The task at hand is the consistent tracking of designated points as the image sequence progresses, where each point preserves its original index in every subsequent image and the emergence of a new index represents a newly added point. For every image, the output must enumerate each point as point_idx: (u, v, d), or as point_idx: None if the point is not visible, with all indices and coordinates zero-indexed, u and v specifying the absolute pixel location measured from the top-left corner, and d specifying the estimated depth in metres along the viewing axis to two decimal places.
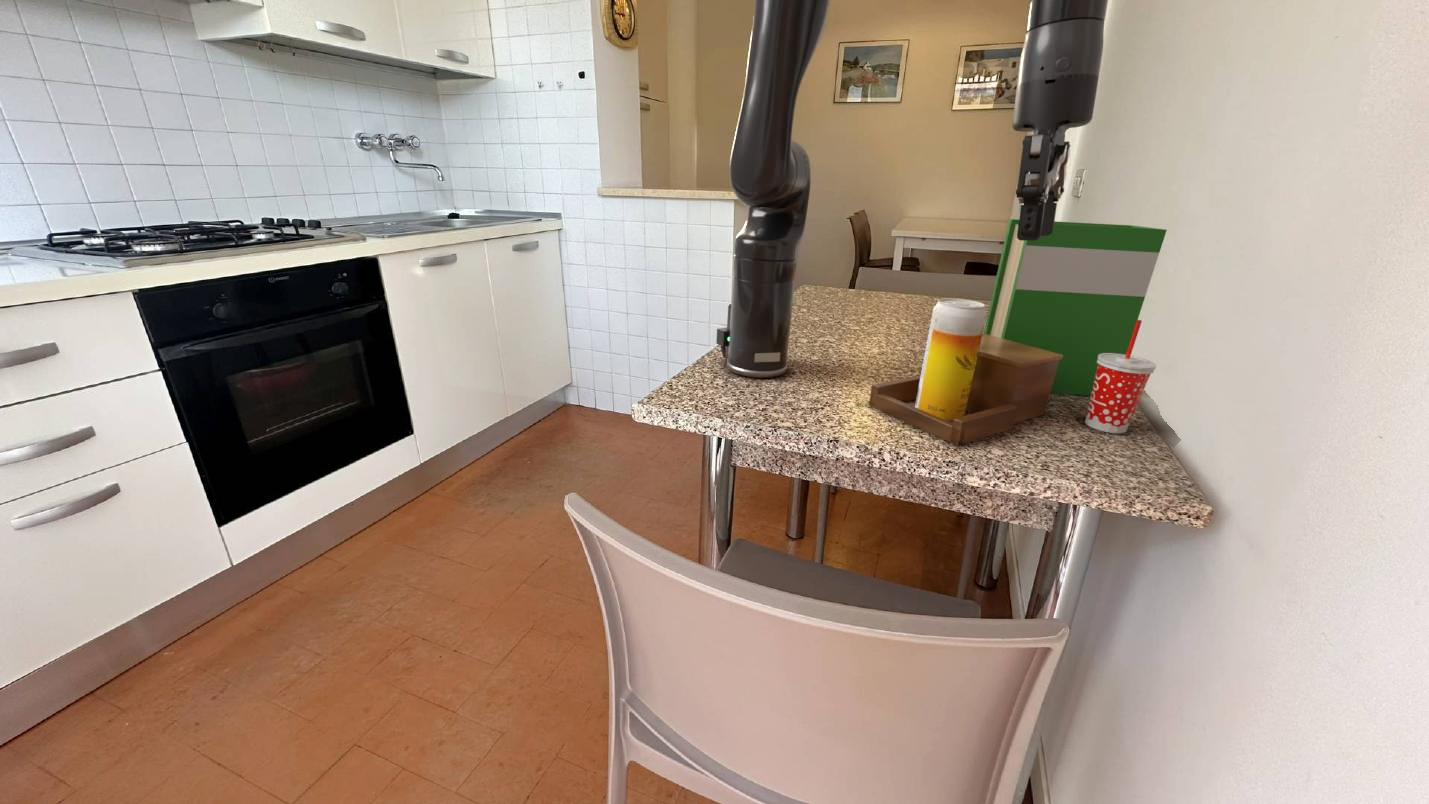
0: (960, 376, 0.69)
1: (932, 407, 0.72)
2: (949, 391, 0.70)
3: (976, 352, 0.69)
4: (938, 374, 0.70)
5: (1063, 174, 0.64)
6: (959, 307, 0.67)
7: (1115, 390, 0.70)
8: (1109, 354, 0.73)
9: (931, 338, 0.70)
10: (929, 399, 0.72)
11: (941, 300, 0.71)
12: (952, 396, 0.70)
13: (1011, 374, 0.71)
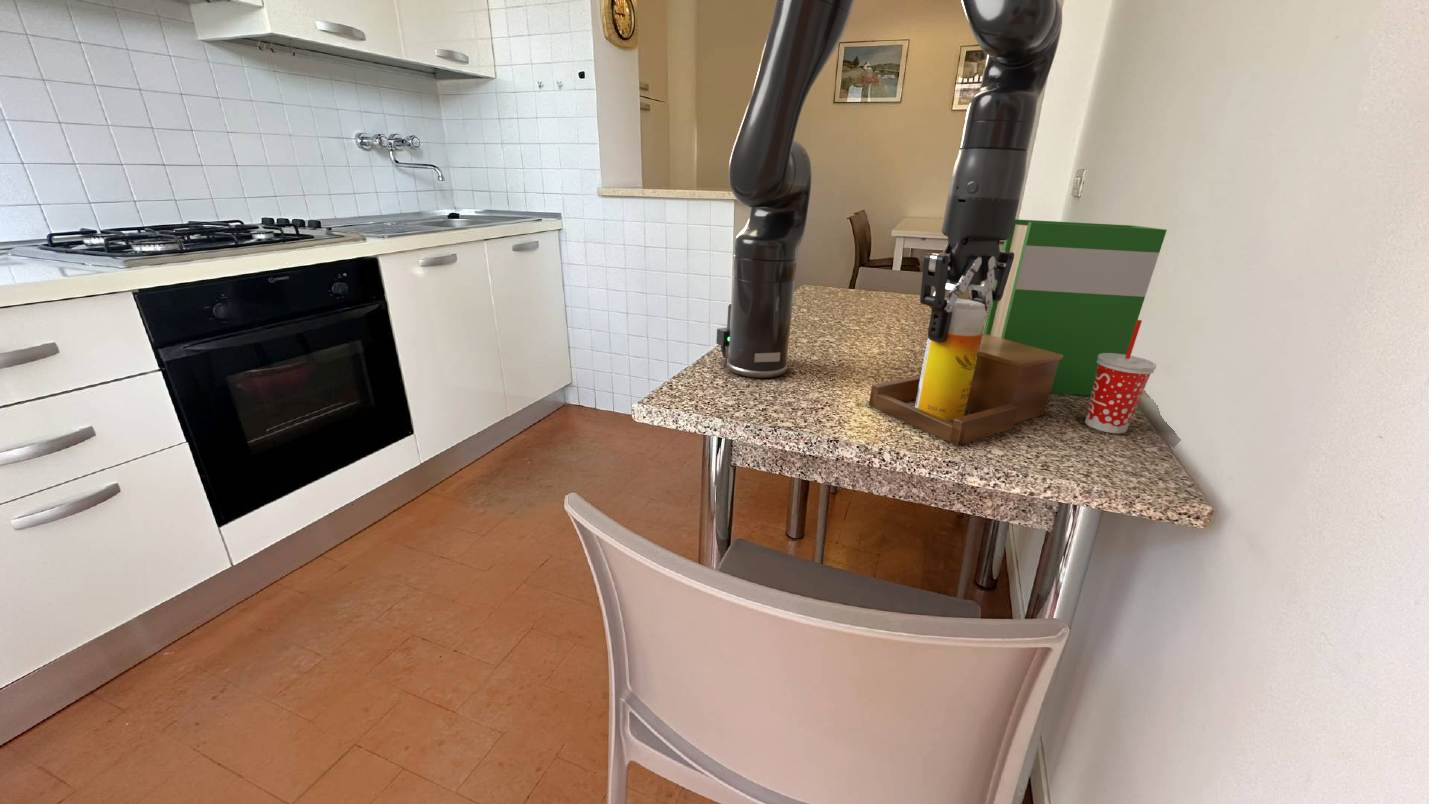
0: (960, 376, 0.69)
1: (932, 407, 0.72)
2: (949, 391, 0.70)
3: (976, 352, 0.69)
4: (938, 374, 0.70)
5: (987, 281, 0.68)
6: (959, 307, 0.67)
7: (1115, 390, 0.70)
8: (1109, 354, 0.73)
9: None
10: (929, 399, 0.72)
11: None
12: (952, 396, 0.70)
13: (1011, 374, 0.71)
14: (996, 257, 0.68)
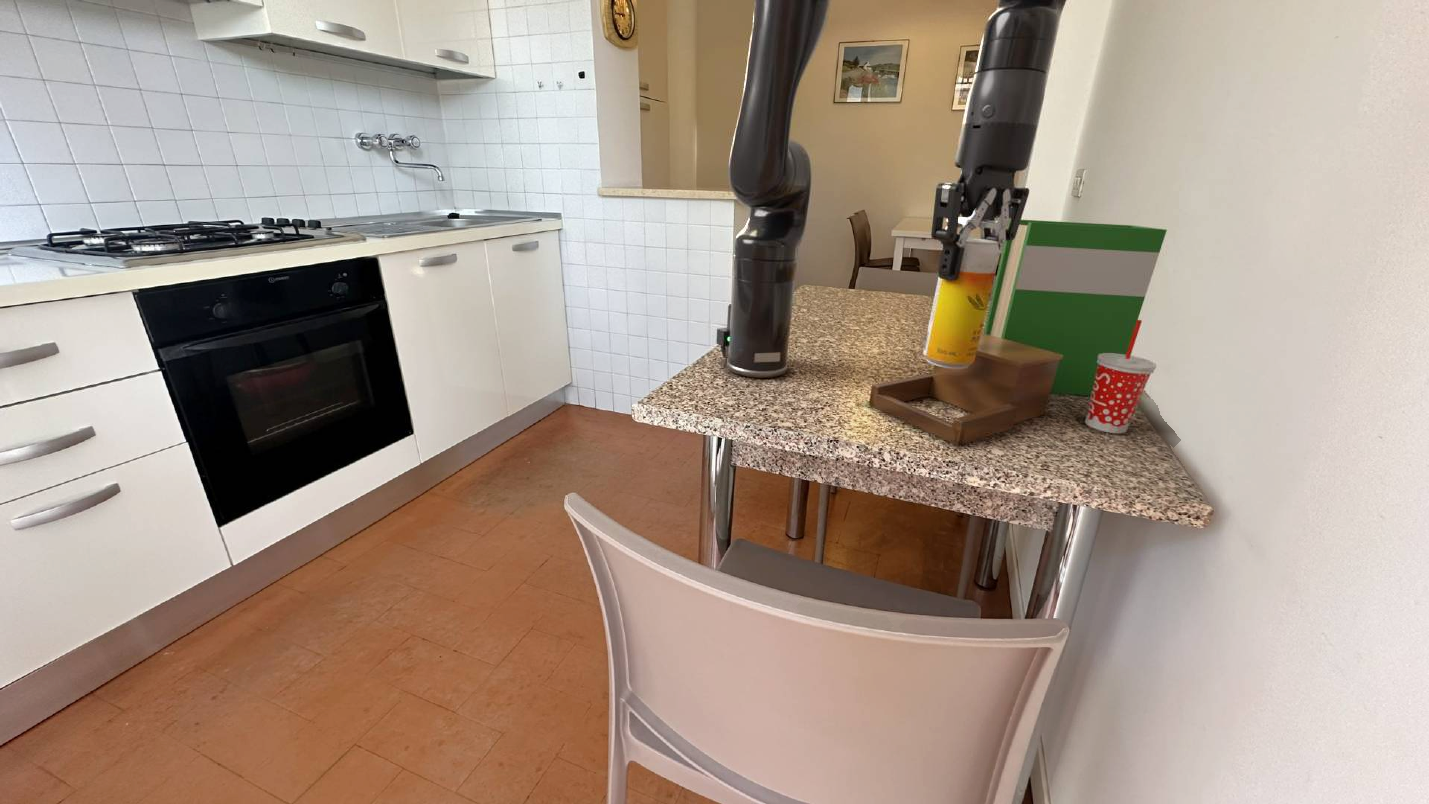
0: (971, 317, 0.67)
1: (941, 351, 0.69)
2: (960, 332, 0.68)
3: (988, 292, 0.67)
4: (949, 315, 0.67)
5: (1001, 217, 0.65)
6: (972, 243, 0.64)
7: (1115, 390, 0.70)
8: (1109, 354, 0.73)
9: None
10: (938, 342, 0.69)
11: None
12: (962, 339, 0.68)
13: (1011, 374, 0.71)
14: (1011, 192, 0.65)
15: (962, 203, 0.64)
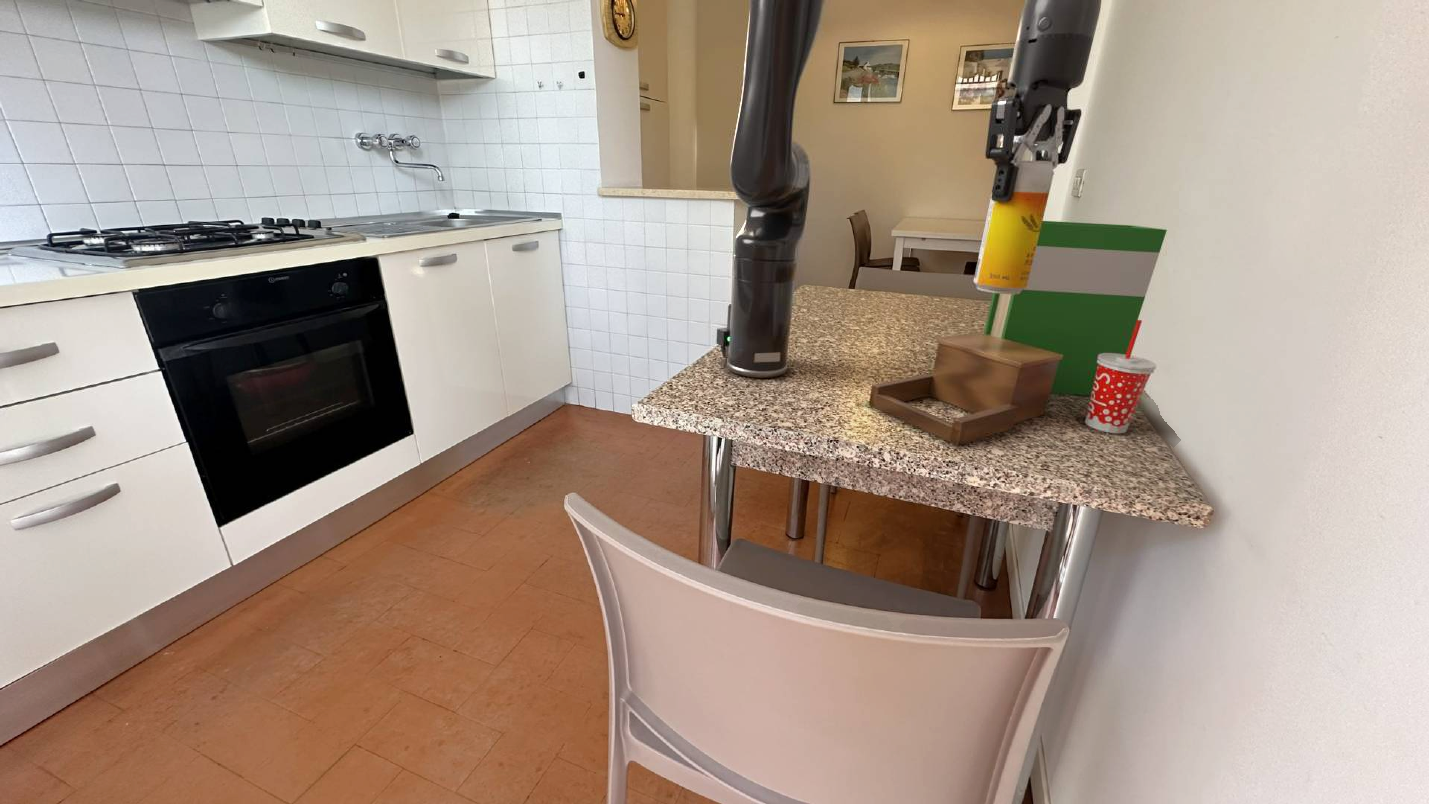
0: (1025, 239, 0.67)
1: (994, 275, 0.69)
2: (1013, 255, 0.67)
3: (1042, 213, 0.66)
4: (1002, 238, 0.67)
5: (1055, 136, 0.65)
6: (1026, 161, 0.64)
7: (1115, 390, 0.70)
8: (1109, 354, 0.73)
9: None
10: (991, 267, 0.69)
11: None
12: (1016, 262, 0.68)
13: (1011, 374, 0.71)
14: (1064, 111, 0.65)
15: (1016, 122, 0.64)
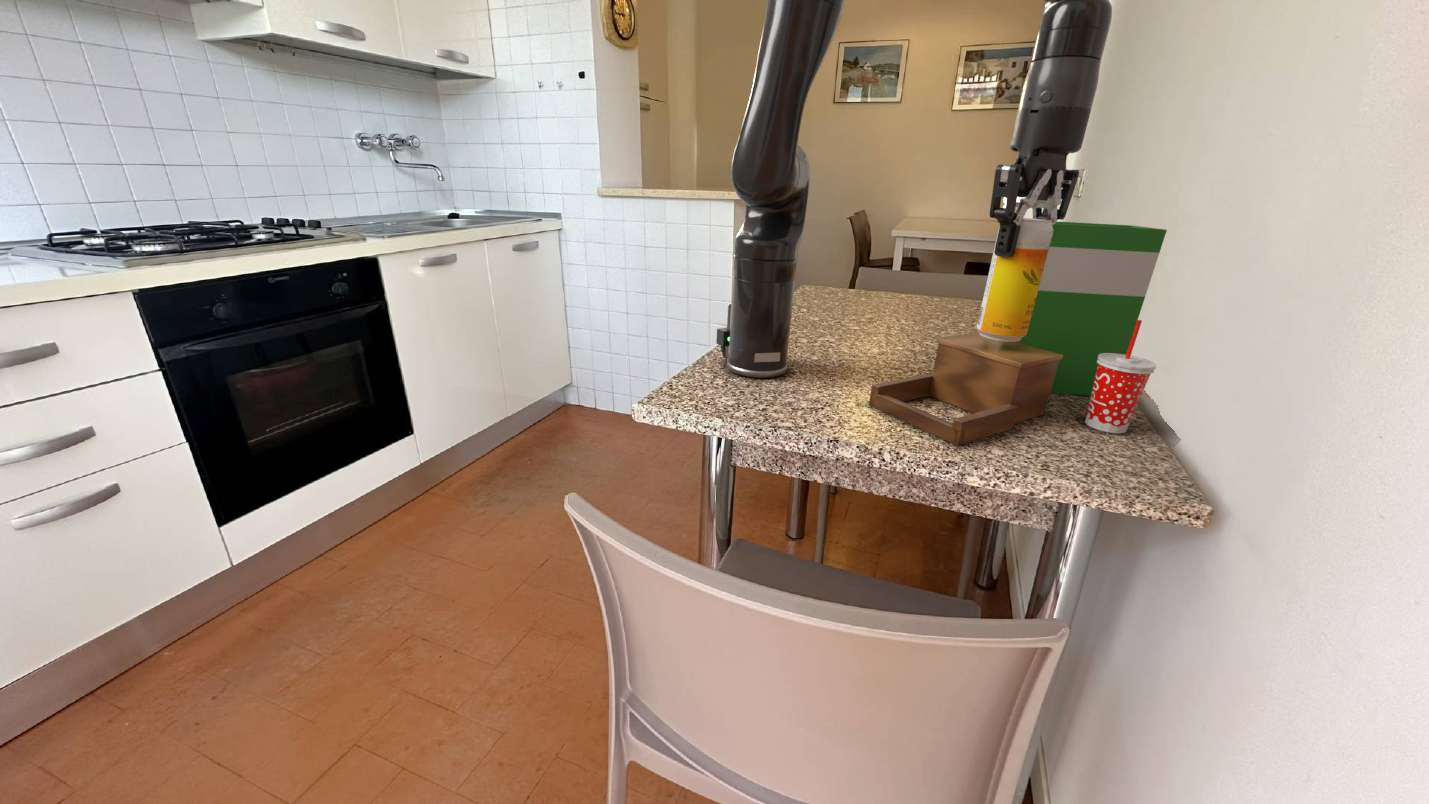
0: (1026, 291, 0.71)
1: (996, 324, 0.73)
2: (1015, 306, 0.72)
3: (1042, 267, 0.71)
4: (1004, 290, 0.72)
5: (1054, 196, 0.69)
6: (1028, 221, 0.68)
7: (1115, 390, 0.70)
8: (1109, 354, 0.73)
9: None
10: (993, 316, 0.73)
11: None
12: (1017, 312, 0.72)
13: (1011, 374, 0.71)
14: (1063, 173, 0.69)
15: (1018, 184, 0.68)
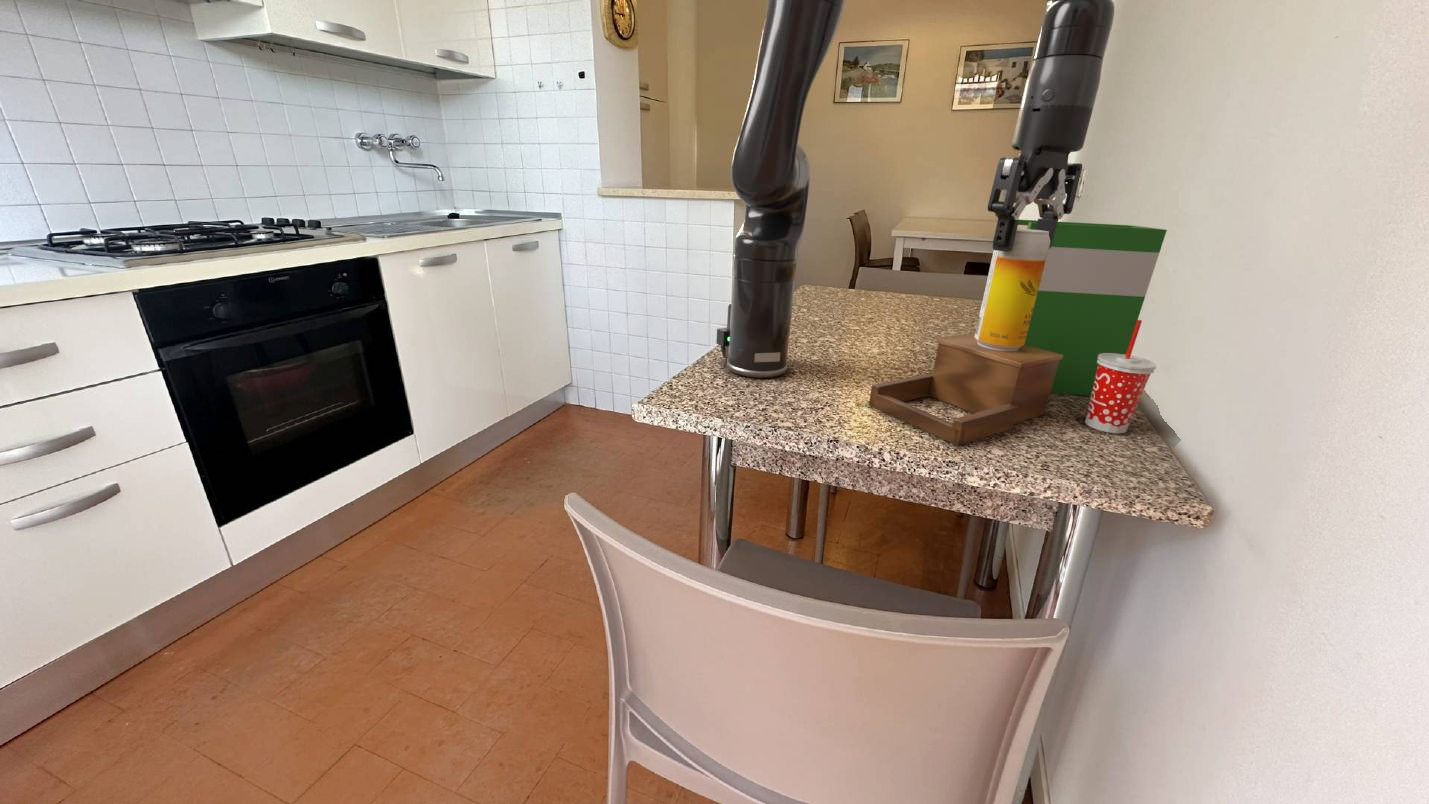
0: (1023, 302, 0.71)
1: (994, 334, 0.74)
2: (1012, 317, 0.72)
3: (1039, 278, 0.71)
4: (1002, 301, 0.72)
5: (1058, 194, 0.69)
6: (1025, 232, 0.69)
7: (1115, 390, 0.70)
8: (1109, 354, 0.73)
9: (995, 265, 0.72)
10: (991, 327, 0.74)
11: None
12: (1014, 322, 0.72)
13: (1011, 374, 0.71)
14: (1064, 172, 0.69)
15: (1020, 179, 0.68)
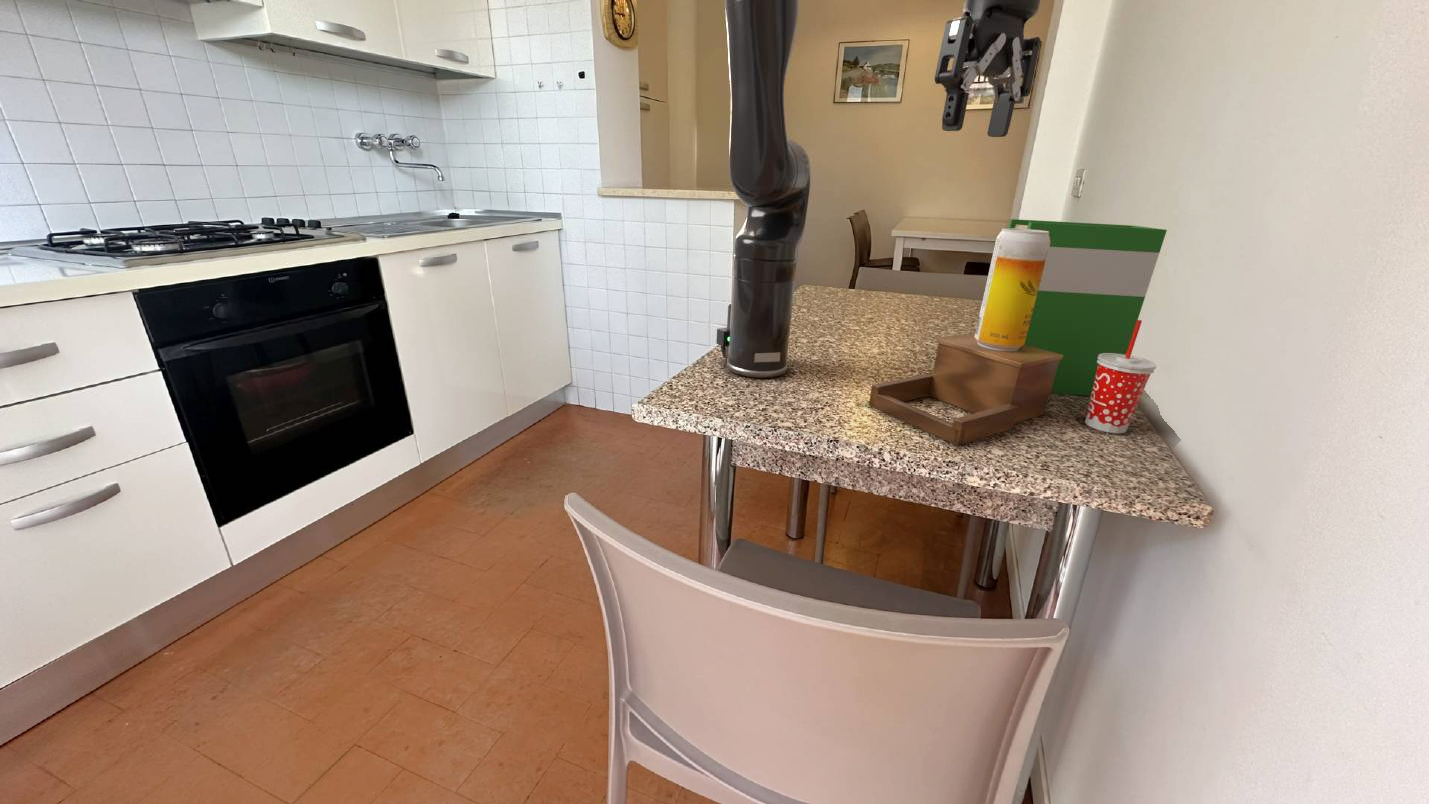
0: (1023, 302, 0.71)
1: (994, 334, 0.74)
2: (1012, 317, 0.72)
3: (1039, 278, 0.71)
4: (1002, 301, 0.72)
5: (1013, 68, 0.64)
6: (1025, 232, 0.69)
7: (1115, 390, 0.70)
8: (1109, 354, 0.73)
9: (995, 265, 0.72)
10: (991, 327, 0.74)
11: None
12: (1014, 322, 0.72)
13: (1011, 374, 0.71)
14: (1020, 44, 0.64)
15: (970, 48, 0.62)
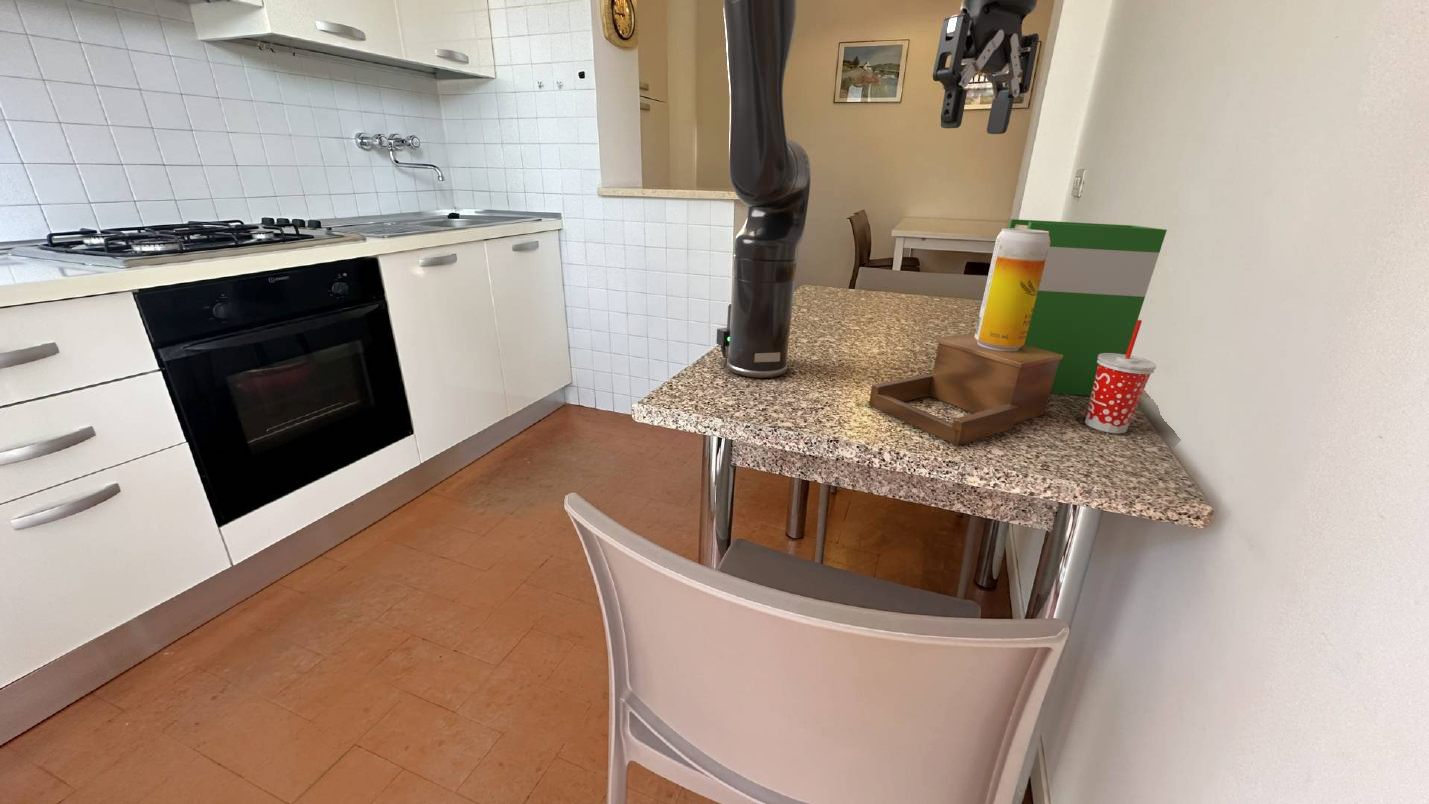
0: (1023, 302, 0.71)
1: (994, 334, 0.74)
2: (1012, 317, 0.72)
3: (1039, 278, 0.71)
4: (1002, 301, 0.72)
5: (1011, 65, 0.63)
6: (1025, 232, 0.69)
7: (1115, 390, 0.70)
8: (1109, 354, 0.73)
9: (995, 265, 0.72)
10: (991, 327, 0.74)
11: None
12: (1014, 322, 0.72)
13: (1011, 374, 0.71)
14: (1018, 41, 0.63)
15: (968, 45, 0.62)
